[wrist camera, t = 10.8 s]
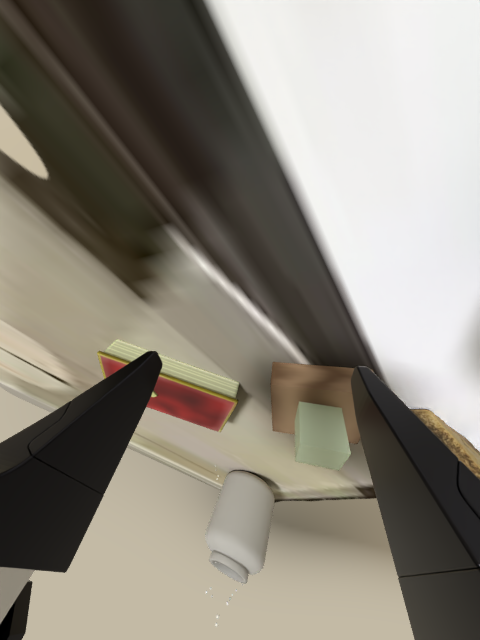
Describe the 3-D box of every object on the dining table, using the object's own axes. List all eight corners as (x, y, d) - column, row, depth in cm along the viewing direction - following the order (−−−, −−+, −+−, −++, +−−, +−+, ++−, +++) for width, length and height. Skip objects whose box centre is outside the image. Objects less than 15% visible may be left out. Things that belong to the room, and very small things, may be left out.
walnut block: (371, 366, 25) (382, 395, 22) (351, 416, 32) (357, 444, 29) (273, 359, 27) (270, 384, 24) (274, 407, 35) (272, 430, 31)
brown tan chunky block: (508, 460, 26) (528, 434, 21) (491, 528, 24) (510, 520, 18) (404, 414, 35) (399, 387, 29) (385, 461, 32) (375, 441, 27)
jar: (206, 463, 60) (165, 607, 40) (239, 458, 52) (208, 635, 32) (249, 487, 66) (232, 622, 46) (286, 486, 57) (283, 649, 38)
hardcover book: (225, 412, 39) (219, 435, 36) (123, 376, 39) (107, 396, 35) (243, 379, 32) (237, 404, 28) (116, 334, 31) (95, 354, 28)
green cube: (341, 407, 24) (350, 454, 20) (332, 427, 27) (339, 470, 23) (298, 401, 25) (300, 444, 21) (294, 420, 28) (294, 461, 24)
